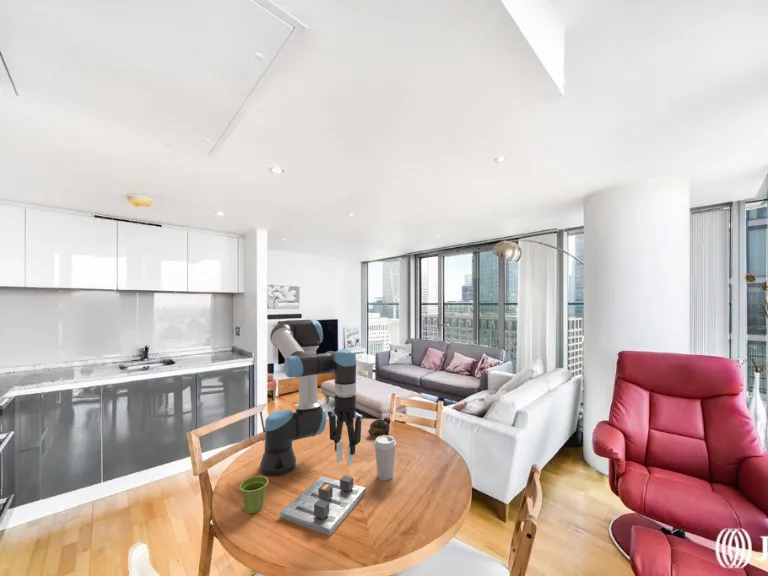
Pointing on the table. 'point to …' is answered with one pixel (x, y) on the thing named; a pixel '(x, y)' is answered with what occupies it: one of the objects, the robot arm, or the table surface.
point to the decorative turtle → (380, 426)
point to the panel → (338, 504)
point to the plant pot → (253, 493)
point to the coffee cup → (385, 456)
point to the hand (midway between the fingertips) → (344, 461)
